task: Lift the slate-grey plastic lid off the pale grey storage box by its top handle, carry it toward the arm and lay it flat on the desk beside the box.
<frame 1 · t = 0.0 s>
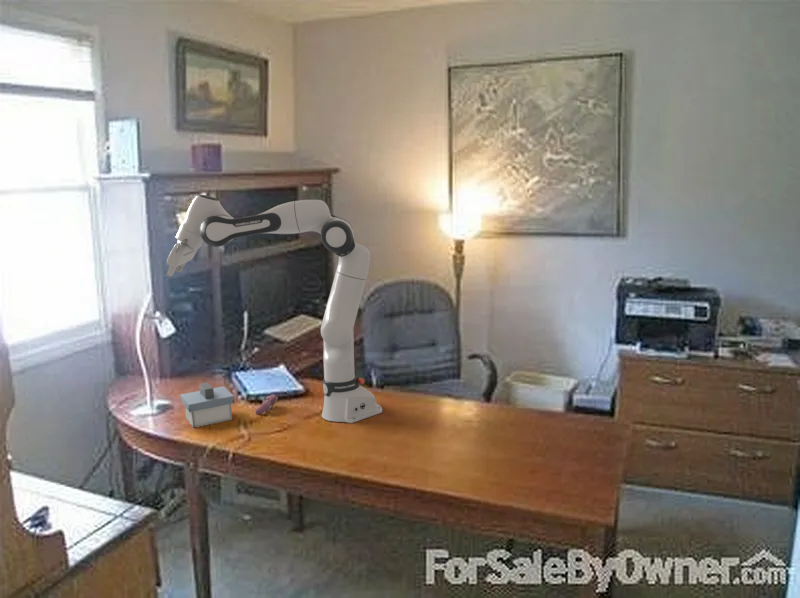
hand: (173, 273, 222), 54 cm above the table, tool tilted 30°, fingers open, 8 cm apart
storage box: (209, 419, 234), on the table
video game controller: (267, 411, 241), on the table
lid: (207, 398, 232), point 8 cm above the table, touching storage box
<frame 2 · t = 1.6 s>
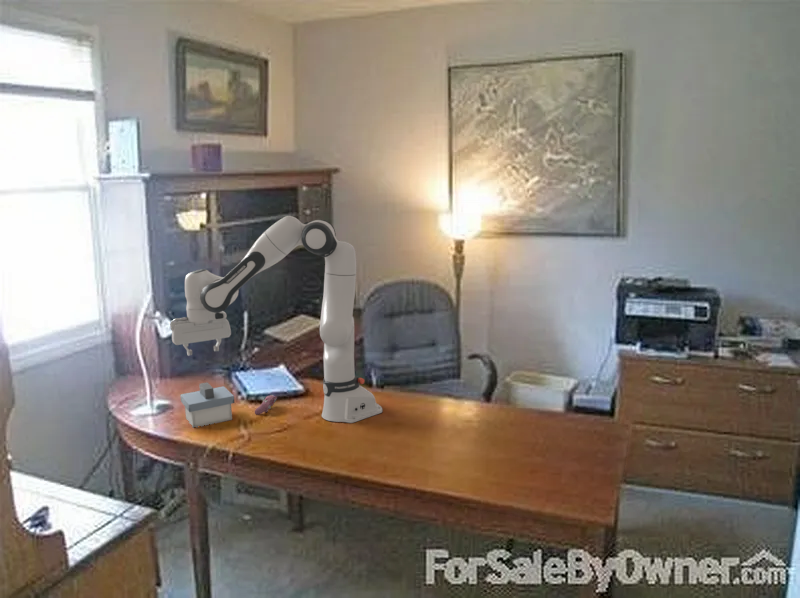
hand: (203, 352, 229), 25 cm above the table, tool pointing down, fingers open, 8 cm apart
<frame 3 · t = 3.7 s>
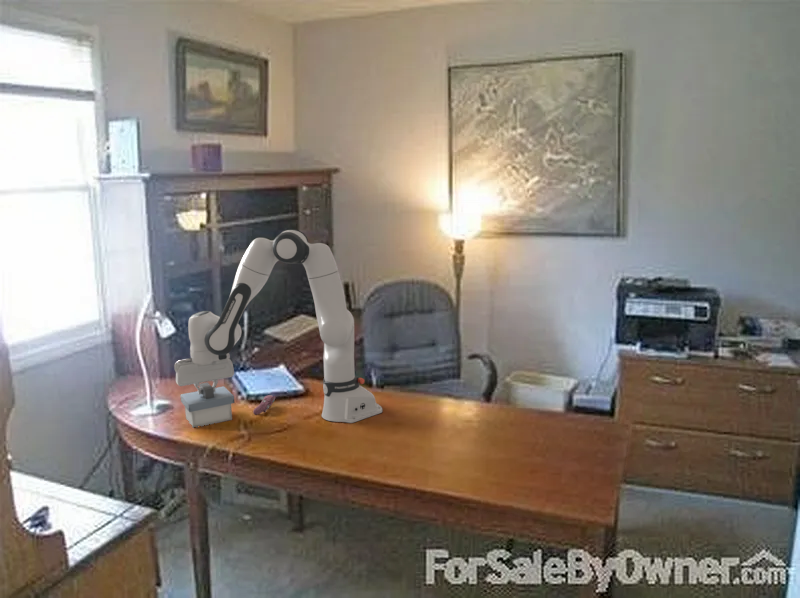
hand: (206, 392, 232), 10 cm above the table, tool pointing down, fingers closed on lid, 3 cm apart
lid: (207, 398, 232), point 8 cm above the table, touching gripper, storage box
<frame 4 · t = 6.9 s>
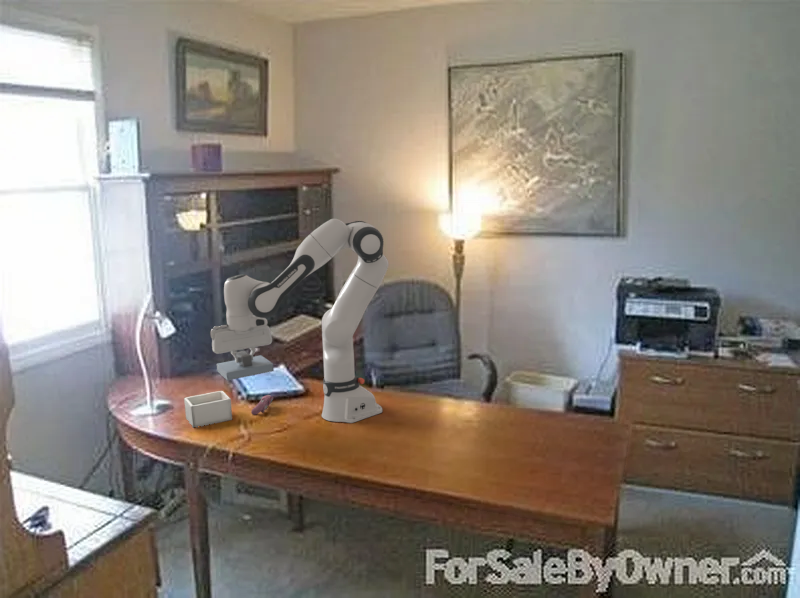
hand: (244, 361, 221), 24 cm above the table, tool pointing down, fingers closed on lid, 3 cm apart
lid: (244, 366, 221), point 22 cm above the table, touching gripper
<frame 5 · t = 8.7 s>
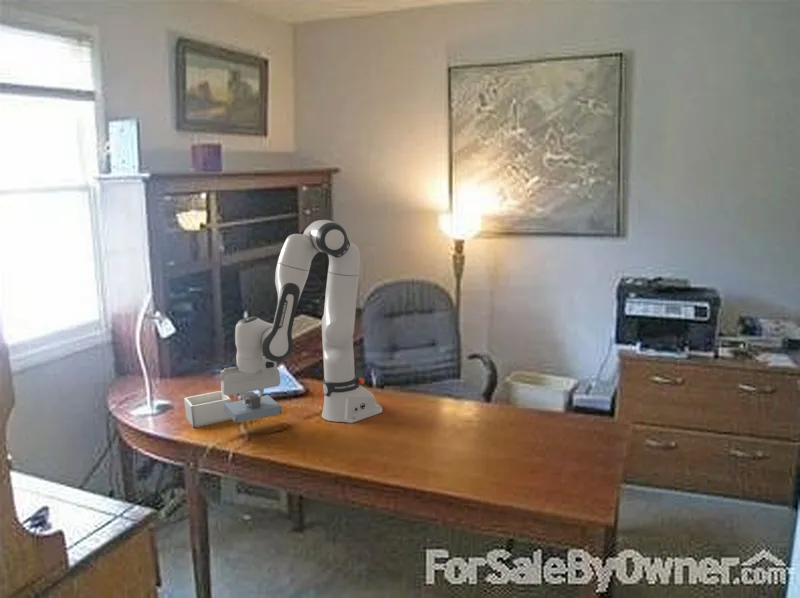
hand: (252, 402, 221), 10 cm above the table, tool pointing down, fingers closed on lid, 3 cm apart
lid: (252, 408, 222), point 8 cm above the table, touching gripper
when the fingers open (5 cm above the table, at t = 10.0 s): lid drops 1 cm, point 1 cm above the table.
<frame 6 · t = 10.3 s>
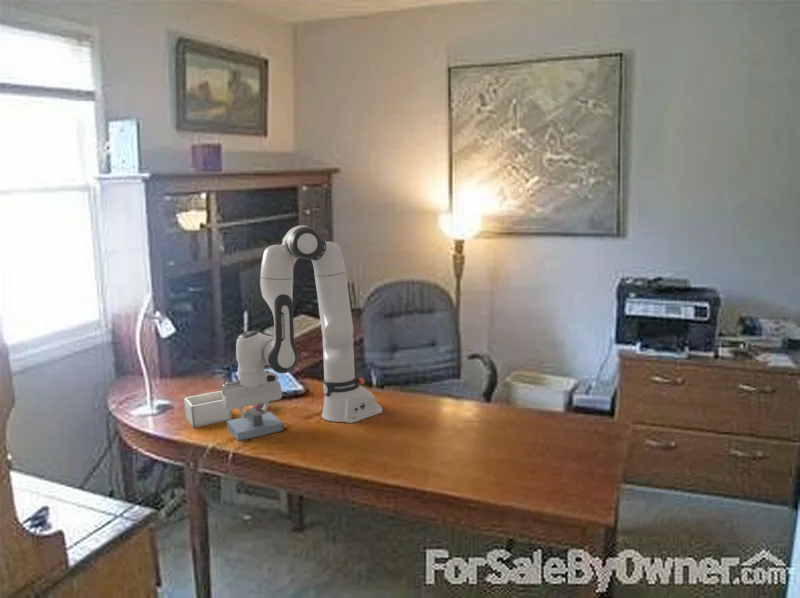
hand: (254, 416, 223), 5 cm above the table, tool pointing down, fingers open, 5 cm apart
lid: (254, 425, 223), point 1 cm above the table
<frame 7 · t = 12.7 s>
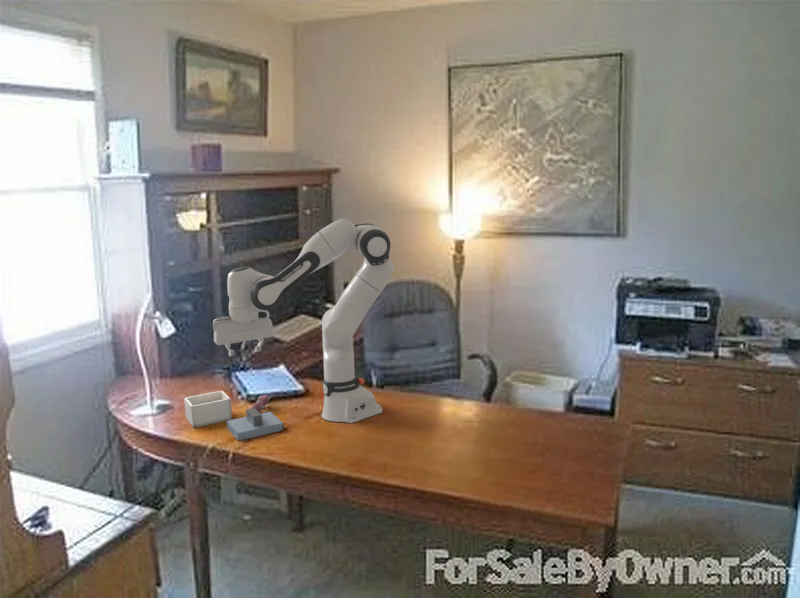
hand: (245, 353, 221), 27 cm above the table, tool pointing down, fingers open, 8 cm apart
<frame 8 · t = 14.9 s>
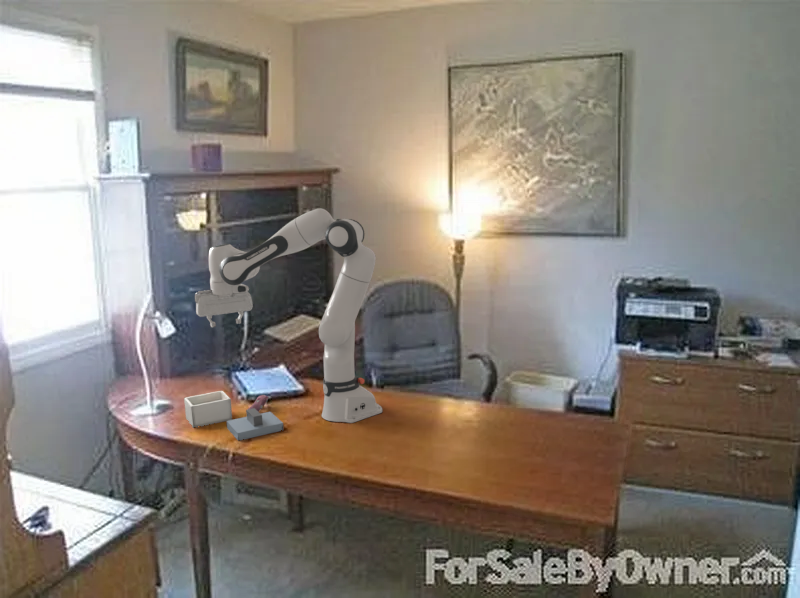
hand: (226, 325, 236), 33 cm above the table, tool pointing down, fingers open, 8 cm apart
at the end: lid inside the target area (0.1 cm from its centre), point 1.5 cm above the table; lid tilted 0°; lid touching table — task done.
